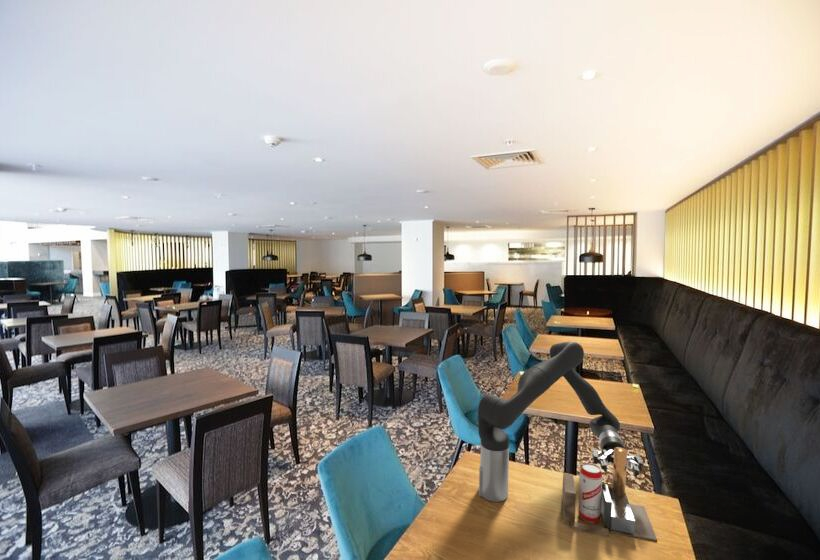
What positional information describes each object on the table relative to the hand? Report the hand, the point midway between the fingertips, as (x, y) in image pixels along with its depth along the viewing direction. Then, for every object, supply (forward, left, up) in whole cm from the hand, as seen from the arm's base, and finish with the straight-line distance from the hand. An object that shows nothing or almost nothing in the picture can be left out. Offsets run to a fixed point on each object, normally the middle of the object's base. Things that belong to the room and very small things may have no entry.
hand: (620, 471), depth 124 cm
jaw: (-2, -4, -12) cm, 13 cm away
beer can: (-9, -6, -13) cm, 17 cm away
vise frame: (-4, -5, -13) cm, 14 cm away
